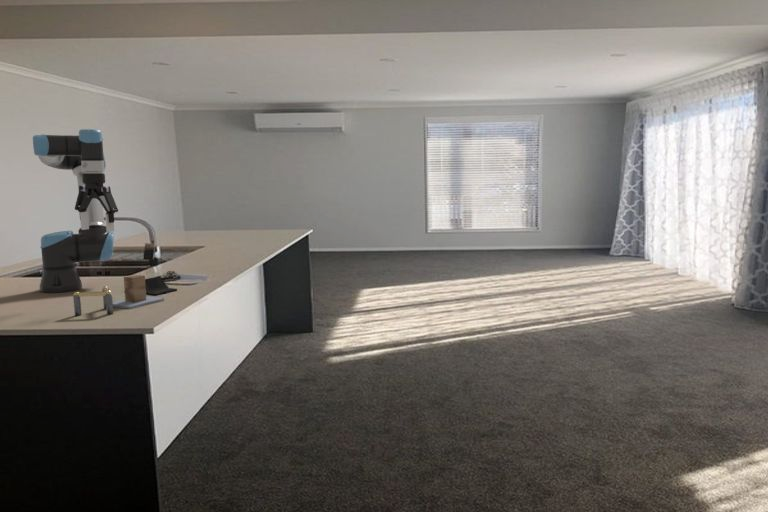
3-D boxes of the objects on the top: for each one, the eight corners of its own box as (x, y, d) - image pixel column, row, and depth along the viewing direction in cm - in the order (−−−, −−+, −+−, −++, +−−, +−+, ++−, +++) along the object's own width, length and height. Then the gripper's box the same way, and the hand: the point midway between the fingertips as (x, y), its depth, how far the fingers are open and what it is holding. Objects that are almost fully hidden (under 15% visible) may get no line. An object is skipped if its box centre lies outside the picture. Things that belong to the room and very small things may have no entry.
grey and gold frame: (73, 315, 197) (71, 292, 196) (107, 307, 208) (105, 285, 207) (93, 318, 192) (91, 294, 191) (127, 310, 204) (125, 287, 202)
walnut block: (125, 301, 214) (123, 276, 213) (136, 298, 218) (135, 274, 217) (135, 302, 212) (133, 277, 210) (146, 300, 216) (144, 275, 215)
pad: (106, 305, 211) (106, 303, 211) (141, 297, 224) (141, 295, 224) (130, 308, 206) (129, 306, 206) (164, 300, 219) (163, 298, 219)
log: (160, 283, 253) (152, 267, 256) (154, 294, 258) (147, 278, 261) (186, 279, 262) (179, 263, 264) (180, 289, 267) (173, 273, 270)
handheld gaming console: (160, 292, 227) (148, 270, 228) (148, 302, 228) (135, 281, 230) (179, 290, 238) (167, 270, 239) (167, 300, 239) (155, 280, 241)
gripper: (61, 172, 218) (66, 229, 222) (108, 173, 207) (112, 233, 211) (79, 171, 225) (83, 227, 228) (126, 173, 214) (129, 231, 218)
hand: (97, 230), depth 220 cm, fingers open, 13 cm apart
